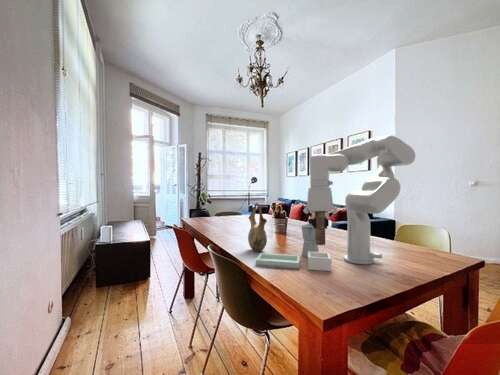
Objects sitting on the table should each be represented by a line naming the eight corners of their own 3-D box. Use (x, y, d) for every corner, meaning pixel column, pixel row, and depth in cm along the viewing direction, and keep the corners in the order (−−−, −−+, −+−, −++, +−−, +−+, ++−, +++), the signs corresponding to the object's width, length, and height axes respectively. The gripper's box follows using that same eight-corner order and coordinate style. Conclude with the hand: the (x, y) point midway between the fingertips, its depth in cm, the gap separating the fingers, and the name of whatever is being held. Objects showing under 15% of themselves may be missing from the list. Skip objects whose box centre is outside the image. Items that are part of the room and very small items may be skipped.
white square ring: (329, 264, 107) (329, 252, 107) (331, 271, 98) (331, 258, 98) (307, 262, 109) (307, 251, 109) (307, 269, 100) (308, 257, 100)
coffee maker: (319, 260, 112) (319, 220, 112) (299, 258, 115) (299, 219, 115) (320, 252, 127) (321, 216, 126) (303, 250, 129) (303, 216, 129)
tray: (299, 261, 111) (299, 255, 111) (299, 269, 101) (299, 262, 100) (260, 258, 115) (260, 252, 115) (255, 265, 104) (255, 259, 104)
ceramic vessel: (273, 253, 124) (273, 203, 123) (257, 255, 119) (257, 204, 119) (257, 246, 138) (257, 201, 138) (242, 248, 134) (242, 202, 134)
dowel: (325, 242, 105) (324, 210, 105) (325, 245, 101) (325, 211, 101) (315, 242, 106) (314, 210, 106) (315, 244, 102) (315, 211, 102)
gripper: (339, 184, 105) (340, 226, 106) (299, 184, 109) (300, 226, 109) (342, 184, 98) (342, 230, 98) (299, 184, 102) (299, 229, 102)
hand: (320, 227), depth 104 cm, fingers closed on dowel, 4 cm apart
